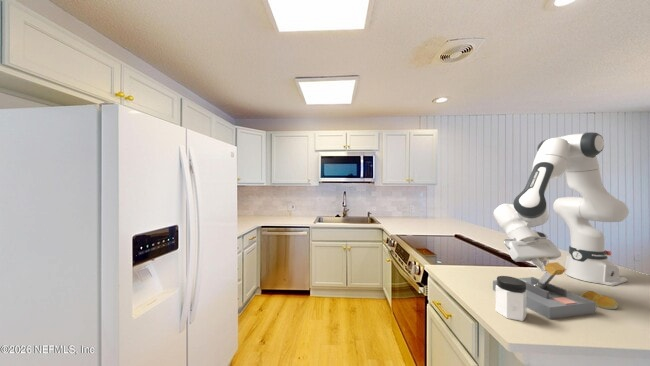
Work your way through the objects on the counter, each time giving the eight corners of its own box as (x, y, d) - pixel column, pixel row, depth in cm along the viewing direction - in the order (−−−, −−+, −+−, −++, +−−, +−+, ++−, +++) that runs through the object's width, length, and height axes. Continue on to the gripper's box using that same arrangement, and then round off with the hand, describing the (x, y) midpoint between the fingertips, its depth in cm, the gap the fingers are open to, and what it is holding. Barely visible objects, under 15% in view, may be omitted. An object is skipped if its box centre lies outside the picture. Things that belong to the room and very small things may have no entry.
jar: (499, 317, 81) (499, 282, 81) (492, 305, 89) (492, 274, 89) (531, 323, 78) (531, 287, 78) (521, 310, 86) (521, 277, 86)
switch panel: (531, 286, 106) (531, 271, 105) (595, 313, 84) (595, 295, 84) (492, 289, 102) (493, 274, 102) (549, 319, 80) (549, 300, 80)
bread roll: (611, 312, 85) (611, 301, 85) (577, 300, 93) (577, 290, 93) (622, 307, 88) (622, 297, 88) (589, 296, 96) (589, 287, 96)
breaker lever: (539, 284, 95) (558, 262, 89) (546, 292, 93) (566, 269, 86) (528, 285, 94) (547, 263, 88) (536, 293, 92) (555, 270, 85)
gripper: (506, 235, 95) (530, 268, 86) (548, 233, 99) (576, 265, 89) (496, 243, 100) (518, 275, 90) (537, 241, 103) (562, 272, 94)
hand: (547, 270), depth 90 cm, fingers closed, pressing on breaker lever
